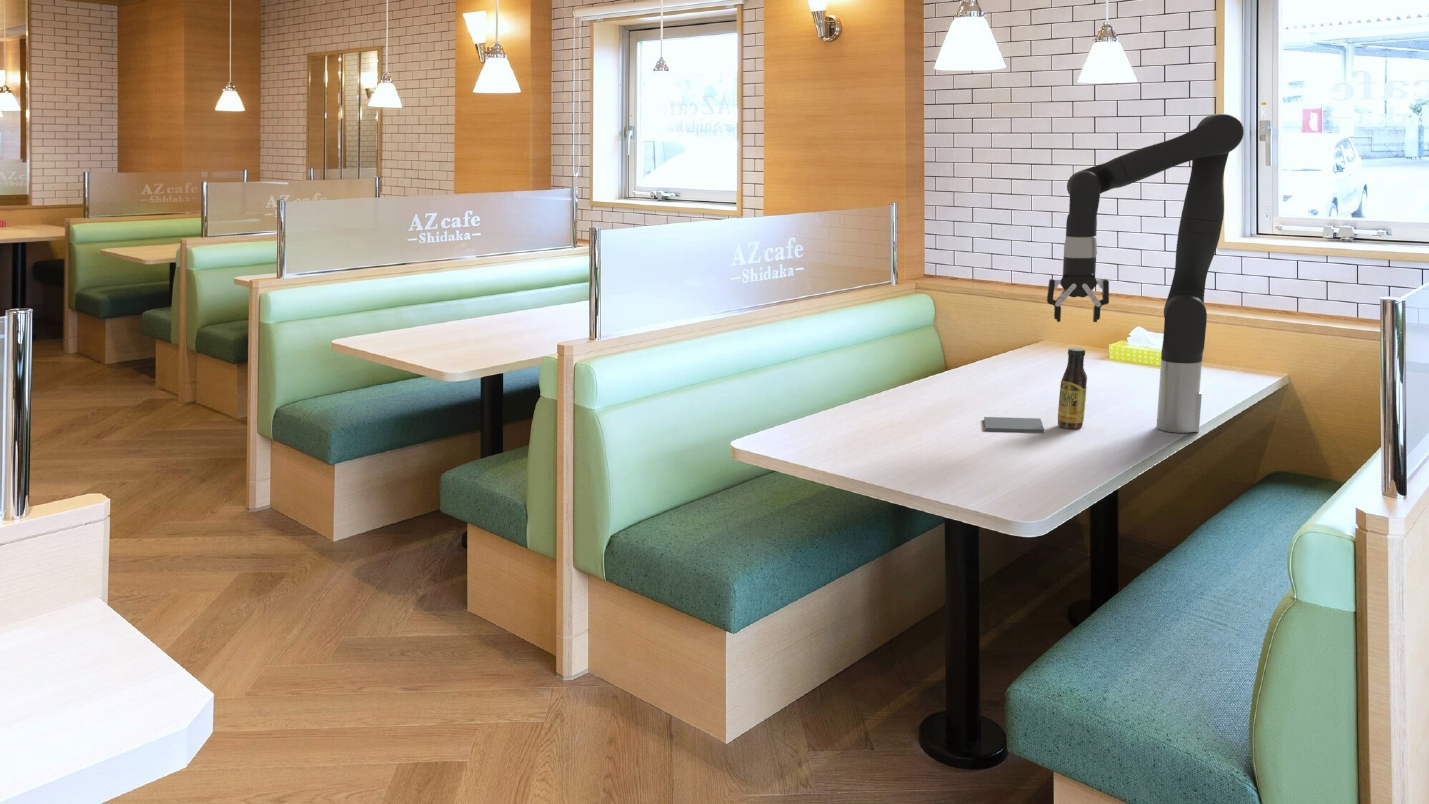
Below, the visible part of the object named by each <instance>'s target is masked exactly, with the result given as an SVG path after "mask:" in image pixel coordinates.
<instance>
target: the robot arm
mask: <svg viewBox="0 0 1429 804" xmlns="http://www.w3.org/2000/svg"><path fill="white" fill-rule="evenodd" d="M1244 130H1245V129H1244V126H1243V123H1242V122H1241V121H1240V120H1239V118H1237V117H1236V116H1234V115H1232V114H1230V113H1229V114H1228V113H1215V114H1210V115H1208V116H1206V117H1204V118H1202V119H1201V121H1200V122H1199V123H1198V125H1196V127H1195V128H1193V129H1191V130H1190V131H1188V132H1185V133H1184V134H1181V135H1179V136H1177V137H1174V138H1171V139H1168V140H1165V141H1161V142H1158V143H1155V144H1152V145H1151V144H1150V145H1149V146H1144V147H1141V148H1137V149H1136V150H1133V151H1130V152H1127V153H1125V154H1123V155H1119V156H1118V157H1115V158H1112V159H1111V160H1109V161H1106V162H1103V163H1100V164H1097V165H1093V166H1090V167H1087V168H1085V169H1082V170H1079V171H1077V172H1075V173H1074V174H1072V175H1071V176H1070V177H1069V179H1068V181H1067V185H1066V190H1067V194H1068V195H1069V204H1068V205H1069V207H1068V208H1069V210H1068V214H1067V216H1066V217H1067V218H1066V222H1065V223H1066V225H1065V229H1066V230H1065V239H1064V245H1063V246H1064V248H1063V262H1062V265H1063V266H1062V277H1061V279H1054V278H1050V279H1049V280H1048V286H1047V296H1046V302H1047V304H1049V305H1052V306H1054V310H1053V311H1054V312H1053V318H1054V320H1056V322H1057V323H1061V314H1062V306H1061V305H1062V304H1063V303H1064V301H1066V299H1067V298H1068V297H1070V298H1077V297H1079V298H1087V297H1089V299H1090V300H1091V302H1093V304H1094V306H1093V310H1092V311H1093V314H1092V322H1093V323H1098V321H1099V320H1100V319H1101V308H1102V306H1105V305H1108V304H1109V303H1110V281H1109V280H1108V279H1107V278H1103V279H1097V277H1096V269H1097V268H1096V267H1097V255H1098V248H1097V247H1098V246H1097V245H1098V244H1097V243H1098V242H1097V227H1098V220H1097V219H1098V211H1099V204H1100V198H1101V194H1102V193H1105V192H1108V191H1111V190H1113V189H1119V188H1123V187H1126V186H1128V185H1131V184H1134V183H1137V182H1140V181H1142V180H1144V179H1146V178H1149V177H1152V176H1153V175H1154V176H1155V175H1157V174H1159V173H1162V172H1164V171H1166V170H1169V169H1171V168H1173V167H1176V166H1179V165H1182V164H1185V163H1188V162H1191V171H1190V177H1189V181H1188V184H1187V189H1186V192H1185V197H1184V201H1183V206H1182V211H1181V215H1180V219H1179V220H1180V221H1179V226H1178V231H1177V232H1178V233H1177V240H1176V250H1175V263H1174V264H1175V266H1174V272H1173V278H1172V281H1171V285H1170V288H1169V292H1168V295H1167V298H1166V301H1165V304H1164V308H1163V317H1164V324H1163V337H1162V338H1163V339H1162V346H1161V356H1160V367H1159V369H1160V370H1159V371H1160V372H1159V384H1158V385H1159V386H1158V399H1157V412H1156V413H1157V414H1156V429H1158V430H1160V431H1163V432H1167V433H1168V432H1169V433H1179V434H1181V433H1182V434H1185V433H1186V434H1188V433H1193V432H1194V433H1197V432H1198V433H1199V432H1200V421H1201V420H1200V419H1201V409H1202V398H1203V397H1202V392H1200V391H1201V382H1202V381H1201V379H1202V378H1201V377H1202V365H1203V356H1204V355H1203V354H1204V350H1205V344H1206V343H1205V341H1206V332H1207V331H1206V330H1207V322H1208V321H1207V319H1208V318H1207V317H1208V313H1207V308H1206V306H1205V289H1206V281H1207V275H1208V272H1209V270H1210V267H1211V264H1212V262H1213V259H1214V256H1215V254H1216V250H1217V248H1218V245H1219V244H1218V243H1219V242H1220V241H1219V240H1220V237H1221V233H1222V228H1223V227H1222V226H1223V221H1224V215H1225V196H1224V175H1225V171H1226V166H1227V161H1228V158H1229V154H1230V152H1232V151H1234V150H1235V149H1236V148H1237V147H1238V146H1239V145H1240V143H1241V142H1242V140H1243V138H1244ZM1059 285H1061V287H1062V288H1063V291H1062V292H1061V293H1060V294H1059V296H1058V297H1057V298H1056V299H1054V294H1055V289H1057V288H1058V287H1059ZM1097 285H1098V286H1099V288H1100V289H1102V291H1101V292H1102V296H1101V297H1102V299H1098V298H1097V297H1096V294H1095V293H1094V292H1093V290H1094V289H1095V288H1096V287H1097Z"/></svg>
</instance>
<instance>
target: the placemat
mask: <svg viewBox="0 0 1429 804" xmlns="http://www.w3.org/2000/svg"><path fill="white" fill-rule="evenodd" d="M983 422H984V430H985V432H1003V433H1005V432H1006V433H1007V432H1008V433H1010V432H1011V433H1037V434H1038V433H1039V434H1040V433H1043V434H1044V433H1045V428H1044V425H1043V423H1042V422H1043V421H1042V418H1041V417H1040V418H1038V417H1035V418H1033V417H1004V416H1003V417H1002V416H1001V417H1000V416H999V417H995V416H984V417H983Z"/></svg>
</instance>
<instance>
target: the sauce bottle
mask: <svg viewBox="0 0 1429 804" xmlns="http://www.w3.org/2000/svg"><path fill="white" fill-rule="evenodd" d="M1067 354H1068V355H1067V356H1068V357H1067V365H1066V369H1065V371H1064V373H1063V375H1062V378H1061V381H1060V385H1059V387H1060V388H1059V397H1058V399H1059V401H1058V409H1057V410H1058V411H1057V425H1058V427H1060V428H1063V429H1068V430H1069V429H1070V430H1075V429H1076V430H1077V429H1080V428H1082V427H1083V426H1084V425H1083V424H1084V419H1085V410H1086V399H1087V381H1088V376H1087V373H1086V370H1085V368H1084V366H1085V364H1084V362H1085V356H1086V349H1085V348H1082V347H1081V348H1080V347H1070V348H1068V350H1067Z"/></svg>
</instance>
